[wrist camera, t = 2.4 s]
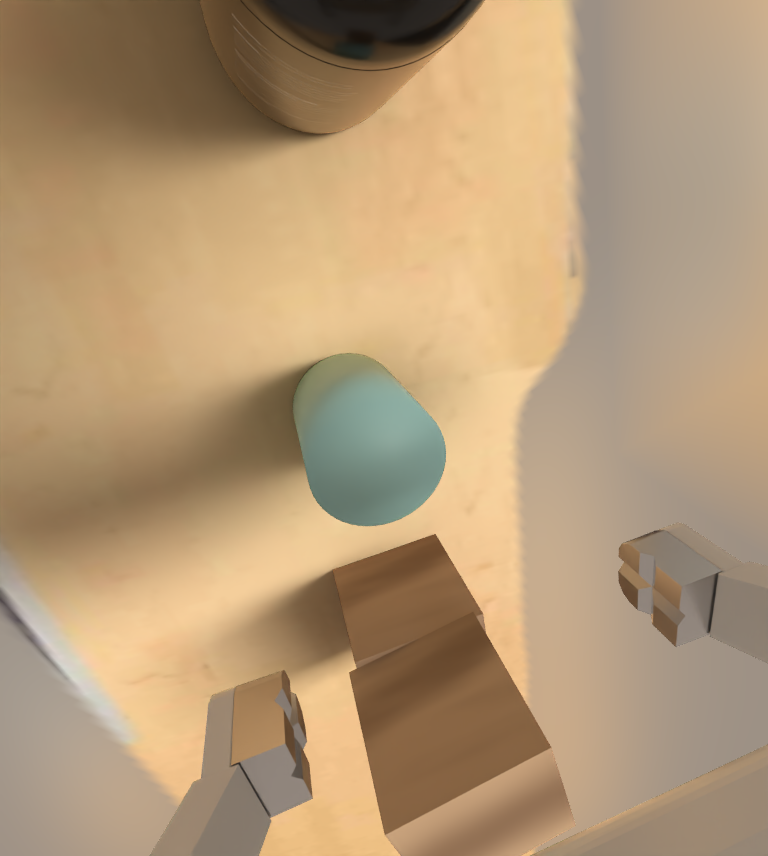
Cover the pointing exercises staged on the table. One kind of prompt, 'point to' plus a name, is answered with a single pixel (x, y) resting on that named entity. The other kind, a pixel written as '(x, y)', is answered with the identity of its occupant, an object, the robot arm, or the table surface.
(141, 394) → the table surface
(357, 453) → the teal rounded cylinder
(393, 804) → the tower top
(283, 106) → the supplement bottle
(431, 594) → the tower base
